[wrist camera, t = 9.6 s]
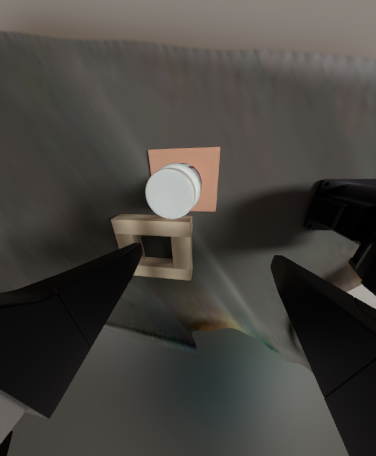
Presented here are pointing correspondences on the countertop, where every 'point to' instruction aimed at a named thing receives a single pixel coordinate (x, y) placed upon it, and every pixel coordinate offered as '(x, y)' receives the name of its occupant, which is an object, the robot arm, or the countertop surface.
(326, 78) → the countertop surface
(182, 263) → the frame block
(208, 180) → the terracotta tile
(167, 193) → the pill bottle
